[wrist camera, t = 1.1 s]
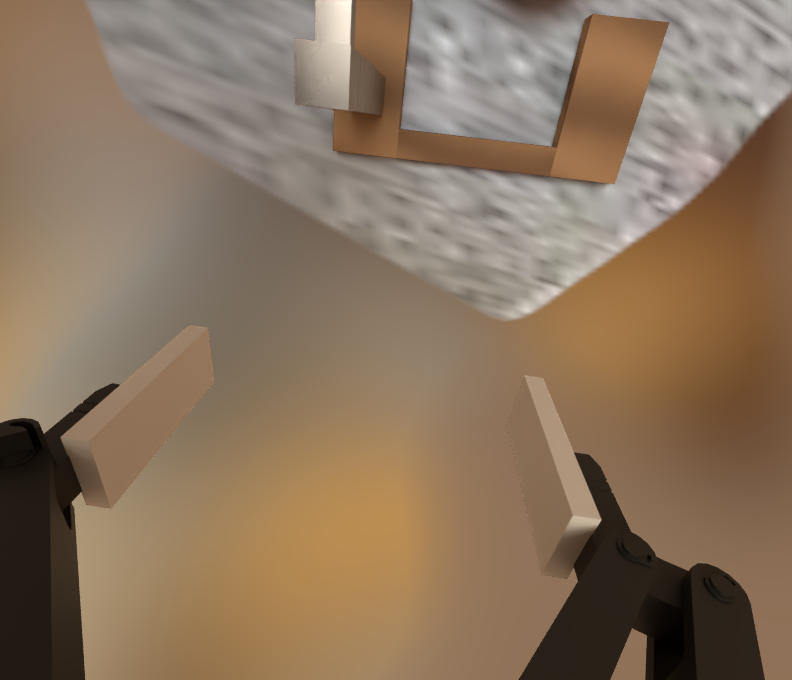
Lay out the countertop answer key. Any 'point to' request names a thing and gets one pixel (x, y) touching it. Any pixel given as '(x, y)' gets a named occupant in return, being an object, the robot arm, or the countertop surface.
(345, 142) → the brown u-shaped bracket
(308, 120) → the countertop surface
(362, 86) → the hook post
